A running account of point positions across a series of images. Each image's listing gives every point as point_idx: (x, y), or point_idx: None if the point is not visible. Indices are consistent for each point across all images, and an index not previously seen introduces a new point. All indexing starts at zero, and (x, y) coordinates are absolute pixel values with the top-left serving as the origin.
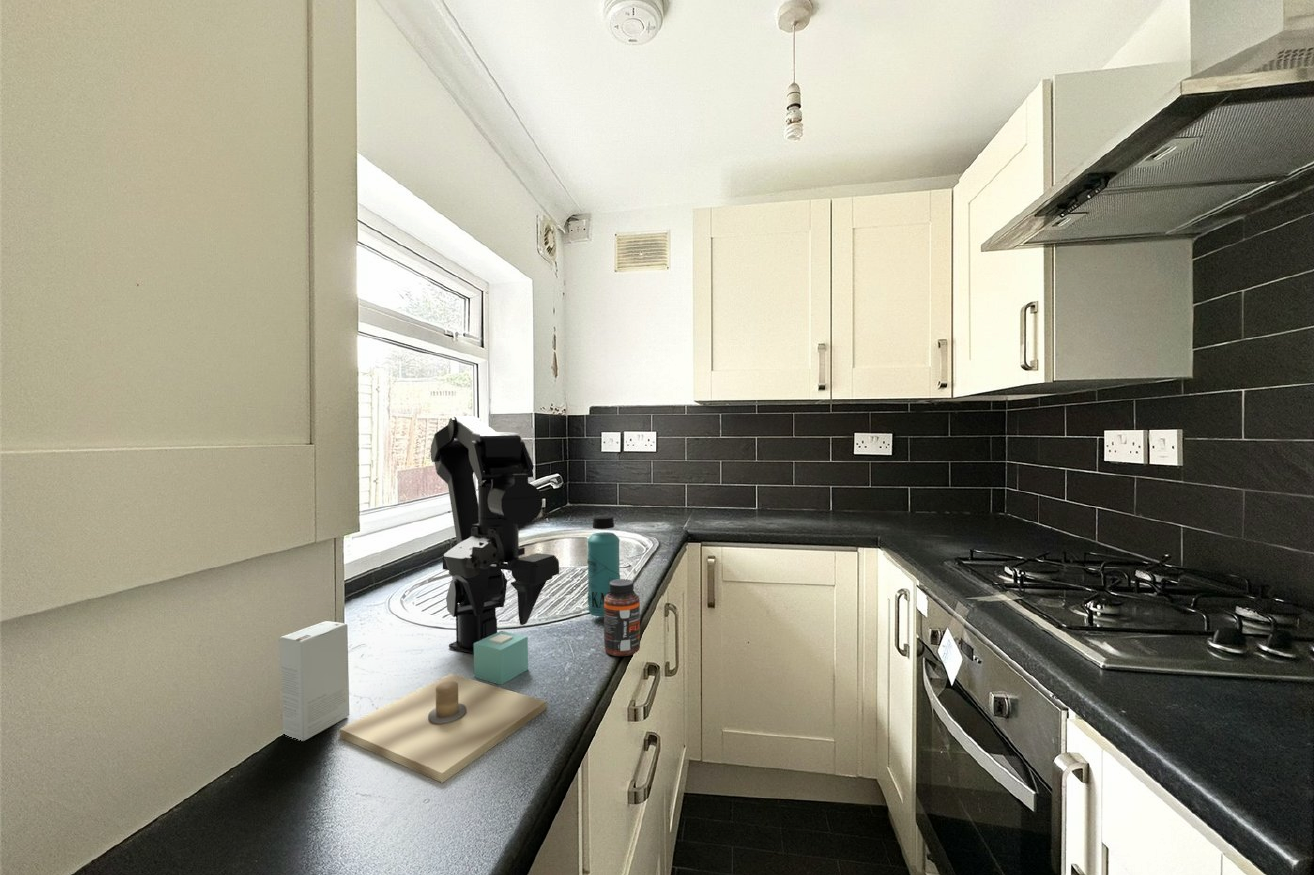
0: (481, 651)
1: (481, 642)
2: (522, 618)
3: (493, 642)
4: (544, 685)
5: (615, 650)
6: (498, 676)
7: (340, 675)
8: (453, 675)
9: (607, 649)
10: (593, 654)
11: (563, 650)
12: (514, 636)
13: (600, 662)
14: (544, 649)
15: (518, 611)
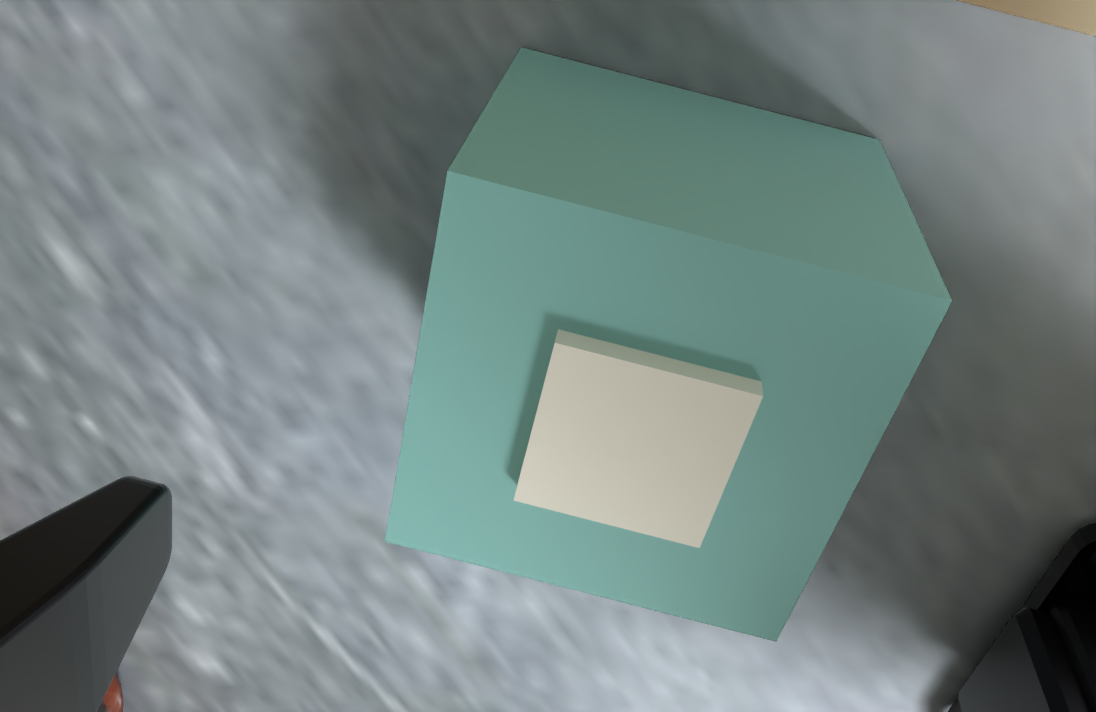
0: (797, 226)
1: (852, 342)
2: (29, 531)
3: (686, 362)
4: (155, 122)
5: None
6: (546, 76)
7: None
8: (1079, 6)
9: None
10: (153, 603)
11: (389, 637)
12: (528, 529)
13: (29, 511)
14: (535, 641)
15: (9, 619)
